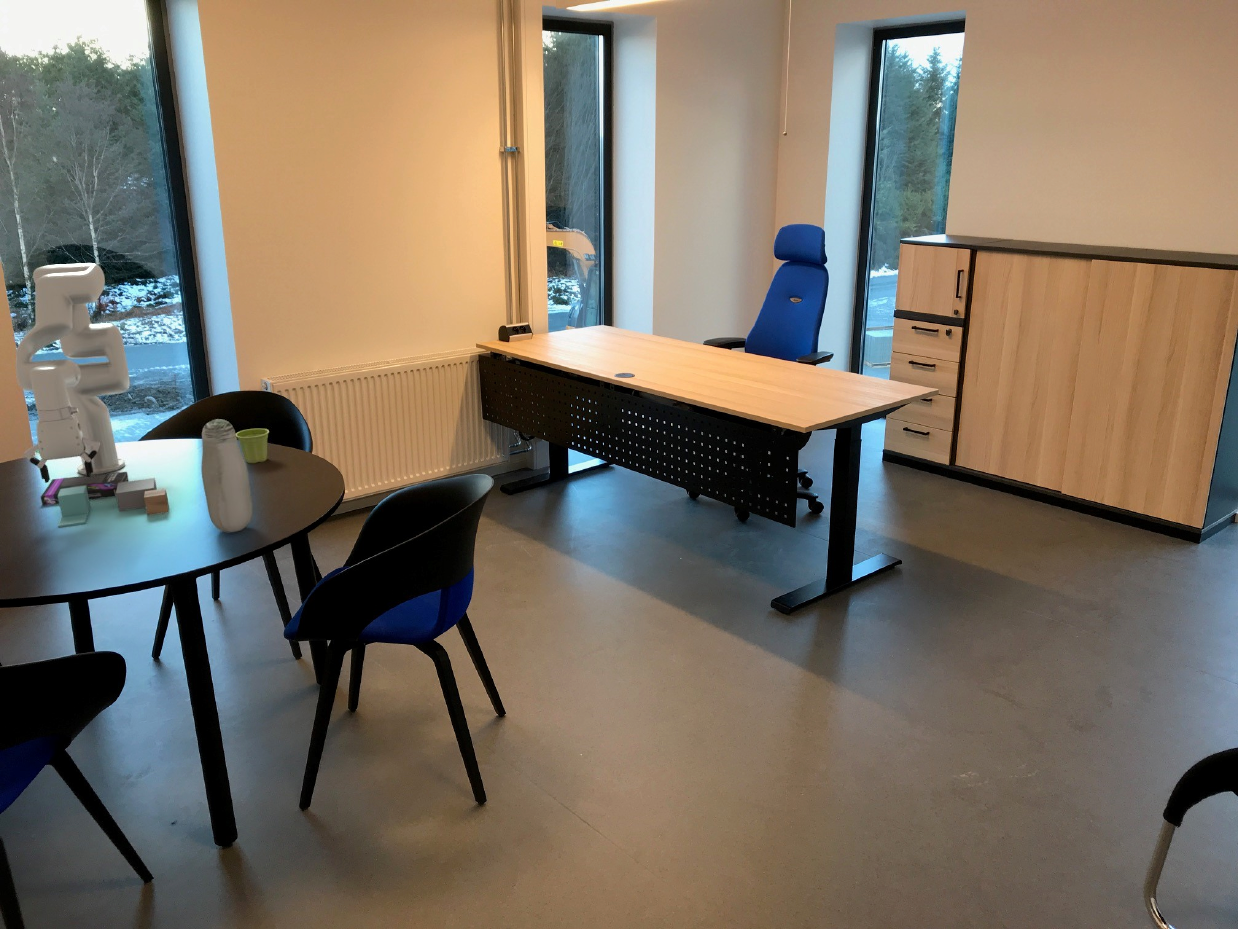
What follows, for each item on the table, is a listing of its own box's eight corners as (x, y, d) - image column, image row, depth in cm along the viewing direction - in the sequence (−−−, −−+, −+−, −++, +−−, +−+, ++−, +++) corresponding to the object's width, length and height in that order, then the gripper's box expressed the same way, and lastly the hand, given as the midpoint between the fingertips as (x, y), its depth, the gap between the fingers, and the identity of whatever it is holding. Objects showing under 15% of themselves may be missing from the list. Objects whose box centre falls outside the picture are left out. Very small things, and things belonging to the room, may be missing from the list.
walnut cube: (148, 509, 261) (144, 491, 260) (168, 506, 263) (165, 488, 261) (147, 515, 257) (143, 497, 255) (168, 512, 258) (165, 494, 257)
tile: (61, 519, 255) (61, 517, 255) (87, 515, 257) (87, 513, 257) (58, 527, 250) (58, 525, 250) (85, 523, 252) (84, 521, 252)
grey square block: (121, 500, 268) (118, 482, 266) (158, 495, 271) (154, 477, 269) (119, 511, 260) (115, 493, 258) (156, 505, 263) (153, 488, 261)
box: (42, 508, 266) (121, 498, 271) (39, 496, 265) (118, 486, 270) (54, 490, 279) (129, 481, 284) (51, 479, 278) (127, 469, 283)
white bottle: (254, 534, 242) (237, 424, 233) (210, 540, 239) (191, 428, 230) (256, 520, 251) (240, 413, 242) (213, 525, 248) (195, 417, 239)
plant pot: (249, 455, 303) (245, 428, 301) (278, 455, 302) (274, 428, 299) (233, 465, 295) (229, 437, 292) (263, 465, 293) (259, 437, 290)
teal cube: (65, 510, 262) (60, 489, 260) (90, 506, 264) (85, 485, 262) (62, 518, 257) (57, 496, 255) (88, 514, 259) (83, 492, 257)
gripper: (94, 407, 258) (106, 470, 263) (18, 415, 252) (33, 479, 257) (91, 413, 251) (104, 477, 256) (13, 422, 245) (28, 487, 250)
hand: (68, 478), depth 257 cm, fingers open, 9 cm apart
